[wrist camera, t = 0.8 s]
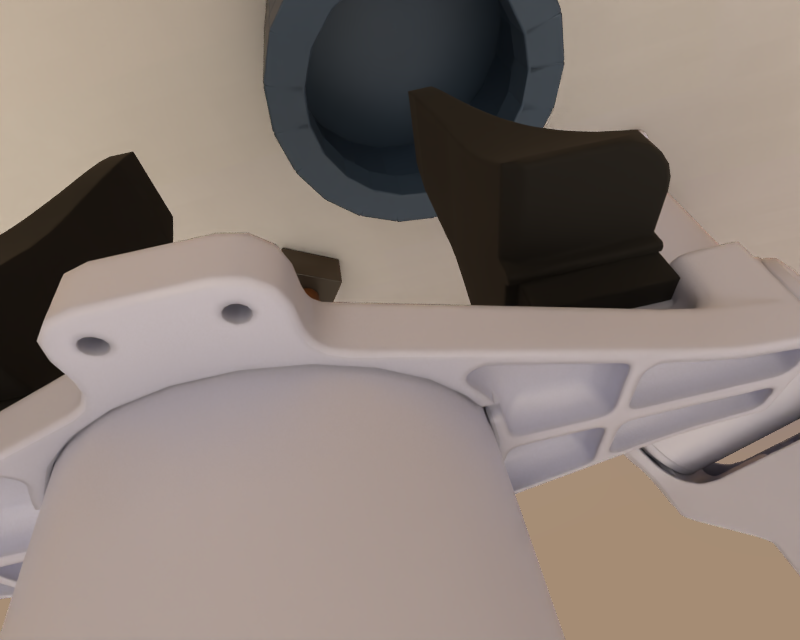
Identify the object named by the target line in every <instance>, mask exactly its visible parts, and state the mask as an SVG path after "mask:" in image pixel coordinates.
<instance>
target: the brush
mask: <svg viewBox="0 0 800 640" xmlns="http://www.w3.org/2000/svg"><path fill="white" fill-rule="evenodd" d="M282 252H283V253H284V255H285V256H286V257H287V258H288V259H289V261H290V262H291V263H292V265H293V267H294V270H295V272H296V275H297V277H298V279H299V282H300V284H301V286H302V288H303V289H304V291H305V293H306V294H307V295H308V296H309V297H311V298H312V299H315V300H318V301H321V302H333V301H334V299H335V296H336V294H337V292H338V290H339V288H340V285H341V283H342V279H341V272H340V265H339V260H338V259H333V258H328V257H323V256H318V255H314V254H309V253H304V252H299V251H294V250H290V249H285V248H283V249H282Z"/></svg>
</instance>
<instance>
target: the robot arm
mask: <svg viewBox="0 0 800 640" xmlns="http://www.w3.org/2000/svg"><path fill="white" fill-rule="evenodd" d="M408 94H409V103H410V111H411V119H412V128H413V136H414V144H415V152H416V161H417V165H418V169H419V172H420V175H421V179H422V182H423V185H424V188H425V191H426V193H427V195H428V198H429V200H430V202H431V204H432V206H433V208H434V210H435V212H436V215H437V217H438V219H439V221H440V223H441V225H442V227H443V229H444V231H445V233H446V236H447V238H448V240H449V242H450V244H451V246H452V249H453V251H454V254H455V256H456V259H457V262H458V265H459V268H460V271H461V274H462V277H463V280H464V283H465V287H466V290H467V293H468V296H469V299H470V303H471V305H440V304H395V303H350V302H321V301H318V300H315V299H312V298H311V297H309V296H308V295H307V294H306V293H305V291H304V289H303V288H302V286H301V284H300V282H299V279H298V277H297V275H296V272H295V270H294V267H293V265H292V263H291V262H290V261H289V259H288V258H287V257H286V256H285V255H284V253H283V252H282V251H281V250H280V249H279V248H278V246H277V245H276V244H274V243H271V242H269V241H266V240H264V239H262V238H259V237H257V236H254V235H252V234H250V233H214V234H209V235H205V236H200V237H196V238H191V239H187V240H182V241H178V242H173V216H172V214H171V213H170V211H169V210H168V208H167V206H166V205H165V203H164V201H163V200H162V198H161V196H160V195H159V193H158V191H157V190H156V188H155V187H154V185H153V183H152V182H151V180H150V178H149V177H148V175H147V173H146V172H145V170H144V168H143V167H142V165H141V164H140V162H139V160H138V159H137V157H136V155H135V154H134V152H129V153H125V154H120V155H116V156H111V157H108V158H106V159H104V160H103V161H101V162H99V163H98V164H96V165H95V166H93V167H92V168H91V169H89V170H88V171H87V172H85V173H84V174H83V175H81V176H80V177H79V178H78V179H76V180H75V181H74V182H73V183H71V184H70V185H69V186H68V187H66V188H65V189H64V190H63V191H61V192H60V193H59V194H58V195H56V196H55V197H54V198H52V199H51V200H50V201H48V202H47V203H46V204H44V205H43V206H42V207H40V208H39V209H38V210H36V211H35V212H34V213H32V214H31V215H30V216H28V217H27V218H26V219H24V220H23V221H21V222H20V223H18V224H17V225H15V226H14V227H12V228H11V229H9V230H8V231H6V232H4V233H3V234H1V235H0V599H2V598H11V597H12V599H11V602H10V605H9V608H8V611H7V615H6V617H5V621H4V624H3V627H2V630H1V633H0V640H565V637H564V635H563V632H562V629H561V626H560V623H559V620H558V617H557V615H556V611H555V609H554V606H553V603H552V600H551V597H550V595H549V591H548V588H547V585H546V583H545V580H544V577H543V574H542V571H541V568H540V565H539V562H538V559H537V557H536V554H535V551H534V548H533V545H532V542H531V540H530V536H529V534H528V531H527V528H526V525H525V522H524V519H523V516H522V513H521V510H520V508H519V505H518V502H517V499H516V496H515V494H517V493H519V492H522V491H525V490H527V489H530V488H533V487H536V486H538V485H541V484H544V483H546V482H549V481H552V480H554V479H557V478H560V477H563V476H565V475H568V474H571V473H573V472H576V471H579V470H582V469H584V468H587V467H590V466H592V465H595V464H598V463H601V462H603V461H606V460H609V459H612V458H614V457H617V456H620V455H623V454H624V455H625V456H626V457H627V458H628V459H629V460H630V461H631V462H632V463H633V464H635V465H636V466H637V467H639V468H640V469H641V470H642V471H643V472H644V473H645V474H646V475H647V476H648V477H649V478H650V479H651V480H652V481H653V482H654V484H655V485H656V486H657V487H658V488H659V489H660V491H661V492H662V493H663V494H664V495H665V497H666V498H667V499H668V501H669V502H670V503H671V504H672V505H673V506H675V507H676V509H677V510H678V512H679V513H680V514H681V515H682V516H684V517H686V518H689V519H692V520H695V521H698V522H702V523H706V524H710V525H714V526H717V527H721V528H725V529H729V530H733V531H737V532H741V533H745V534H748V535H752V536H756V537H759V538H762V539H765V540H768V541H770V542H772V543H774V544H775V545H776V547H777V548H778V549H779V550H780V552H781V553H782V554H783V555H784V557H785V558H786V559H787V560H788V562H789V563H790V564H791V566H792V567H793V568H794V569H795V570H796V572H797V573H798V574H799V576H800V433H798V434H796V435H795V436H792V437H791V438H788V439H786V440H784V441H782V442H781V443H779V444H776V445H774V446H772V447H770V448H769V449H767V450H764V451H762V452H761V453H759V454H756V455H755V456H753V457H750V458H748V459H746V460H744V461H741V462H737V463H734V464H719V463H715V462H717V461H719V460H720V459H722V458H724V457H726V456H728V455H730V454H732V453H734V452H736V451H738V450H740V449H742V448H744V447H746V446H747V445H750V444H751V443H753V442H755V441H757V440H759V439H761V438H763V437H765V436H767V435H769V434H771V433H773V432H775V431H776V430H778V429H780V428H782V427H784V426H786V425H788V424H790V423H792V422H793V421H795V420H798V419H800V275H799V274H797V273H796V272H795V271H794V270H792V269H791V268H790V267H789V266H787V265H786V264H785V263H783V262H782V261H780V260H779V259H777V258H763V259H761V258H759V257H753V256H752V255H751V254H750V253H749V252H748V251H747V250H746V249H745V248H744V247H743V246H742V245H741V244H740V243H739V242H731V243H727V244H723V245H719V244H718V243H717V242H716V241H715V240H714V239H713V238H712V237H711V236H710V235H709V234H708V233H707V232H706V231H705V230H704V229H703V228H702V227H701V226H700V225H699V224H698V223H697V222H696V221H695V219H694V218H693V217H692V216H691V215H690V214H689V213H688V212H687V211H686V210H685V209H684V208H683V207H682V206H681V205H680V204H679V203H678V202H677V201H676V200H675V199H674V198H673V197H672V196H671V195H670V194H669V193H668V187H669V182H670V177H671V176H670V169H669V163H668V161H667V160H666V158H665V157H664V155H663V153H662V152H661V151H660V150H659V149H658V148H657V147H656V146H655V145H654V144H653V143H651V142H650V141H649V138H648V135H647V134H646V133H645V132H644V131H642V130H624V131H605V132H582V131H563V130H554V129H547V128H540V127H534V126H529V125H524V124H520V123H517V122H513V121H509V120H505V119H502V118H499V117H496V116H494V115H491V114H489V113H486V112H484V111H481V110H479V109H477V108H475V107H472V106H470V105H468V104H466V103H464V102H462V101H460V100H458V99H456V98H455V97H453V96H451V95H449V94H447V93H445V92H443V91H441V90H439V89H437V88H435V87H432V86H430V87H425V88H421V89H416V90H412V91H408Z"/></svg>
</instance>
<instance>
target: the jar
mask: <svg viewBox="0 0 800 640" xmlns="http://www.w3.org/2000/svg"><path fill="white" fill-rule="evenodd" d="M560 11H561V8H560V5H559V3H558V0H267V3H266V15H265V25H264V69H263V84H264V91H265V96H266V101H267V106H268V110H269V115H270V120H271V125H272V129H273V132H274V135H275V137H276V139H277V140H278V142H279V144H280V146H281V147H282V149H283V151H284V153H285V154H286V156H287V158H288V160H289V161H290V163H291V165H292V167H293V168H294V170H295V171H296V173H297V174H298V175H299V176H300V177H301V178H302V179H303V180H305V181H306V182H307V183H308V184H309V185H310V186H311V187H312V188H313V189H314V190H315V191H317V192H318V193H319V194H320V195H321V196H322V197H323V198H324V199H326V200H327V201H329V202H332V203H334V204H336V205H338V206H340V207H342V208H344V209H346V210H349V211H351V212H353V213H355V214H357V215H359V216H360V215H362V216H365V217H372V218H378V219H385V220H391V221H398V222H401V221H409V220H418V219H427V218H434V216H435V217H437V215H436V212H435V210H434V208H433V206H432V204H431V202H430V200H429V198H428V195H427V193H426V191H425V188H424V185H423V182H422V179H421V175H420V172H419V169H418V165H417V161H416V152H415V144H414V136H413V128H412V119H411V111H410V103H409V94H408V91H412V90H416V89H421V88H425V87H430V86H432V87H435V88H437V89H439V90H441V91H443V92H445V93H447V94H449V95H451V96H453V97H455V98H456V99H458V100H460V101H462V102H464V103H466V104H468V105H470V106H472V107H475V108H477V109H479V110H481V111H484V112H486V113H489V114H491V115H494V116H496V117H499V118H502V119H505V120H509V121H513V122H517V123H520V124H524V125H529V126H534V127H540V128H543V127H544V125H545V123H546V121H547V119H548V118H549V116H550V114H551V112H552V108H554V105H555V101H556V96H557V92H558V88H559V84H560V80H561V75H562V71H563V67H564V47H563V27H562V13H561V12H560Z"/></svg>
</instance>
